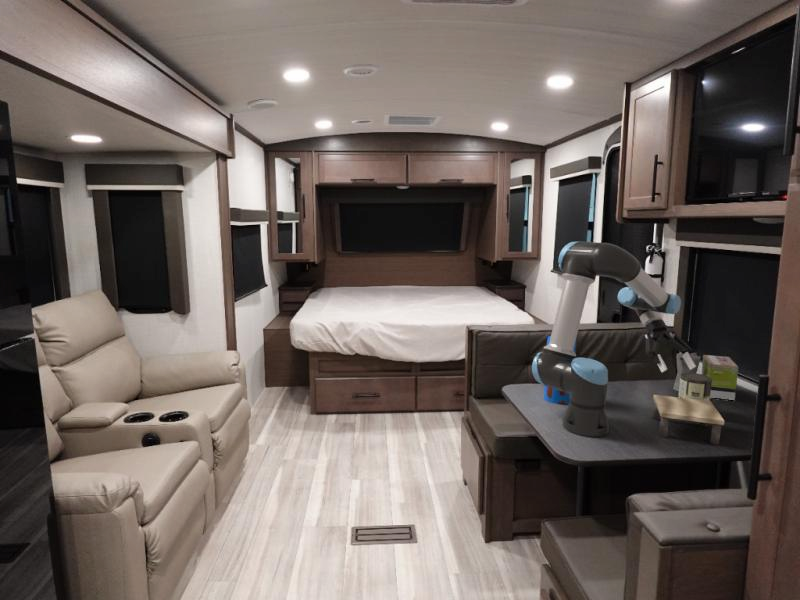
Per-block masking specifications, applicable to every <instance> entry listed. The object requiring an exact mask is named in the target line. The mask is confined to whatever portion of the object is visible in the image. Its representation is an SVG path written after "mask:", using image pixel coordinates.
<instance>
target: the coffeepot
mask: <svg viewBox="0 0 800 600" xmlns="http://www.w3.org/2000/svg"><path fill="white" fill-rule="evenodd" d="M689 353H690V355H691V357H692V359H693V362H694V364H695V365H696V367H695V368H693V369H692V370H690V369H689V367H688V365H687V364H686V362H685V360H684V358H683V357H682V355H683V354H682V353H681V352H678V353H676V356H675V357H676V370H677V374H676V377H675V381H674V384H673V388H672V389H673V390H674V391H675V390H676V391H675V392H677V391H678V393H679V386H680V374H682V373H697V372H698V369H699V366H700V362H701V358H702V357H701V356H700V354H699V352H692V350H691V351H690V352H689ZM697 374H698V373H697Z"/></svg>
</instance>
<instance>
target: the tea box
mask: <svg viewBox="0 0 800 600" xmlns="http://www.w3.org/2000/svg"><path fill="white" fill-rule="evenodd" d="M700 374H702V375H706V376H709V377H711V378H712V384H711V392H710V399H711V398H721V399H729V400H734V401H736V400H735V399H736V391H737V383H738V382H737V381H738V375H739V366H738V365H737V364H736V362H735V361H733V360H732V359H731V357H730V356H722V355H721V356H719V355H710V354H708V355H707V354H703V355H702V365H701V373H700Z"/></svg>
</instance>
